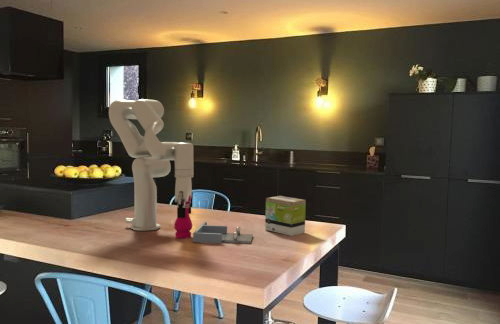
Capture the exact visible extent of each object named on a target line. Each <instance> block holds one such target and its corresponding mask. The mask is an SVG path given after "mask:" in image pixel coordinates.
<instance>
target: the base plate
mask: <svg viewBox="0 0 500 324" xmlns="http://www.w3.org/2000/svg"><path fill="white" fill-rule="evenodd" d="M235 229H236V231H233V232H232V233H231V232H229V233H228V232H227V233H224V234H223V235H222V243H223V244H244V245H245V244H246V245H248V244H251V243H252V240H253V237H254V234H253V233H251V234H250V233H241V226H236V227H235ZM222 243H221V244H222Z"/></svg>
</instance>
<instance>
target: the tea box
mask: <svg viewBox="0 0 500 324" xmlns="http://www.w3.org/2000/svg"><path fill="white" fill-rule="evenodd" d="M306 202H307V201H306V199H302V198H297V197H289V196H283V195H277V196H271V197H266V198H265V217H264V219H265V222H264V223H265V225H264V226H265V228H264V229H265V231H270V232H274V233H279V234H281V235H286V236H290V237H292V236H293V237H294V236H297V235H300V234H304V233H306V206H307V205H306Z"/></svg>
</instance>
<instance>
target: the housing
mask: <svg viewBox="0 0 500 324" xmlns="http://www.w3.org/2000/svg"><path fill="white" fill-rule="evenodd" d="M207 222H208V221H203V222H202V223H201V225H199V227H197V228H196V230H194V232H193V233H192V234H193V235H192V242H193V243H206V244H207V243H210V244H211V243H212V244H222V236H223V234H224V233H228V226H227V225H215V224H214V225H212V224H211V225H210V224H209V225H208V224H207Z"/></svg>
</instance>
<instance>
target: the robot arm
mask: <svg viewBox="0 0 500 324" xmlns="http://www.w3.org/2000/svg"><path fill="white" fill-rule="evenodd" d="M164 115H165V108H164V106H163V104H162V102H160V101H159V100H155V99H148V98H147V99H146V98H145V99H144V98H141V99H137V100H133V99H132V100H131V99H117V100H114V101H112V102H111V104H110V105H109V107H108V117H109V122H110V124H111V125H112V127H113V129H114V131H116V133H117V135H118V136H119V138H120V140H121V142H122V144H123V146H124V148H125V151H126V152H127V154H128V156H129V157H131V158H135V159H134V160H133V161H132V165H131V170H132V177H133V183H134V185H133V186H134V190H133V191H134V200H133V201H134V206H133V207H134V211H133V212H134V214H133V215H134V217H132V218H130V217H126V218H125V220H124V222H125V223H126V224H131V225H130V229H131V230H132V229H133V230H132V231H138V232H146V231H147V232H148V231H156V230H158V229H160V228H161V224H160V223H157V217H158V215H157V213H158V212H157V211H158V210H157V206H158V205H157V204H158V201H157V200H158V199H157V198H158V196H157V194H158V192H157V191H158V190H157V189H158V187H157V185H156V182H155V180H154V179H153V178H161V177H163V178H164V177H166V176H167V175H169V173H171V169H172V168H171V166H172V165H171V162H170V161H174V178H175V185H174V186H175V188H174V202H175V203H177V204H176V205H177V206H176V211H177V212H176V213H177V214H176V218H177V217H178V218H185V217H186V208H185V202H187V201H188V199H189V196H190V195H191V198H192V197H193V196H192V195H193V189H192V188H193V187H192V178H194V175H195V174H194V170H195V169H194V144H193V143H191V142H177V141H160V140H159V138H158V137H157V135H158V134H159V133H160V132H161V131H162V130H163V128H164V126H165V124H164V123H165V122H164V121H163V119H162V117H164ZM130 120H137V121H138V122H139V124H140V125H141V127H142V128H143V130H144V136H143V135H141V134H140V132H139V130H138V127H136V125H135V124H134V123H132V121H130ZM191 203H192V201H190V202H189V204H190V207H189V210H188V211H189V215H190V214H192V204H191Z"/></svg>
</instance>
